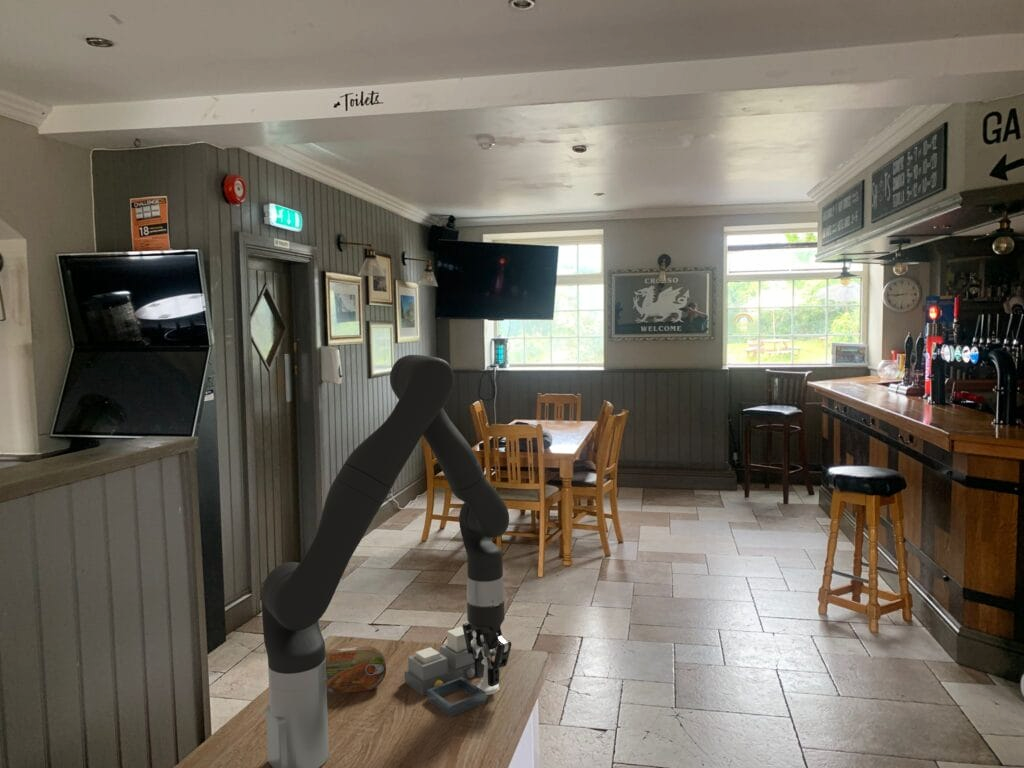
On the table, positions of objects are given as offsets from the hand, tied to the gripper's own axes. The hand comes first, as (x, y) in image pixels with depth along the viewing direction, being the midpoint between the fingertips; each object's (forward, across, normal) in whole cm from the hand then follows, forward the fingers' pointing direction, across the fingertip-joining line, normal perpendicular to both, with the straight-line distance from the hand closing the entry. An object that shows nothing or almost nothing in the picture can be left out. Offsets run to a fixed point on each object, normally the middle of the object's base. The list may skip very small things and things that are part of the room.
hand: (487, 680), depth 143 cm
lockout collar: (+2, 0, -8) cm, 8 cm away
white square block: (-1, -10, -8) cm, 12 cm away
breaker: (-4, -9, 0) cm, 10 cm away
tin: (+2, -18, -22) cm, 28 cm away
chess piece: (+2, 0, 0) cm, 2 cm away
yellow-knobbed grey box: (+2, -10, -4) cm, 11 cm away
